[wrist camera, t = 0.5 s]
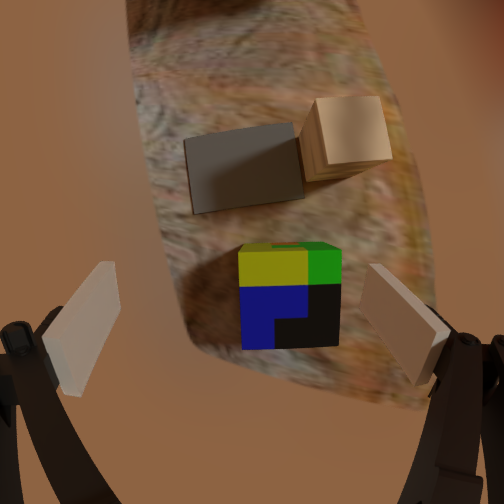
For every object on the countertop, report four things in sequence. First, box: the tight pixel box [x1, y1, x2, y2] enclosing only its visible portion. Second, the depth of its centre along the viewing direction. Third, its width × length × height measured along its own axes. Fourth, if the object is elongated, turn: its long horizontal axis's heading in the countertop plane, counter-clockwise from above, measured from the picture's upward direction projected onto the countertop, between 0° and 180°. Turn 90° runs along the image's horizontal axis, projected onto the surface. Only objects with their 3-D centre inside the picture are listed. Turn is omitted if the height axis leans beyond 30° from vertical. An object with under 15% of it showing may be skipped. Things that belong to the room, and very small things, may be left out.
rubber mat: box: [185, 122, 304, 214], centre depth 39 cm, size 14×10×1 cm
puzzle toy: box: [238, 242, 342, 350], centre depth 36 cm, size 10×10×10 cm
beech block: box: [299, 96, 393, 182], centre depth 32 cm, size 6×6×14 cm
